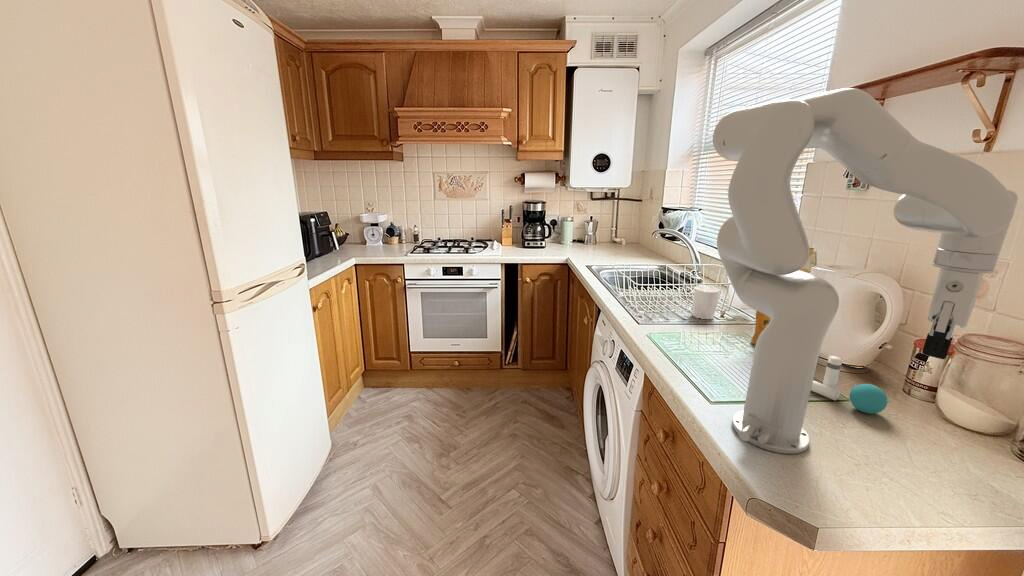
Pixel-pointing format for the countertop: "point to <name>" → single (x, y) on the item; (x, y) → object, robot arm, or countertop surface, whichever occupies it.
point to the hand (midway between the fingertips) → (933, 355)
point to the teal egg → (868, 398)
